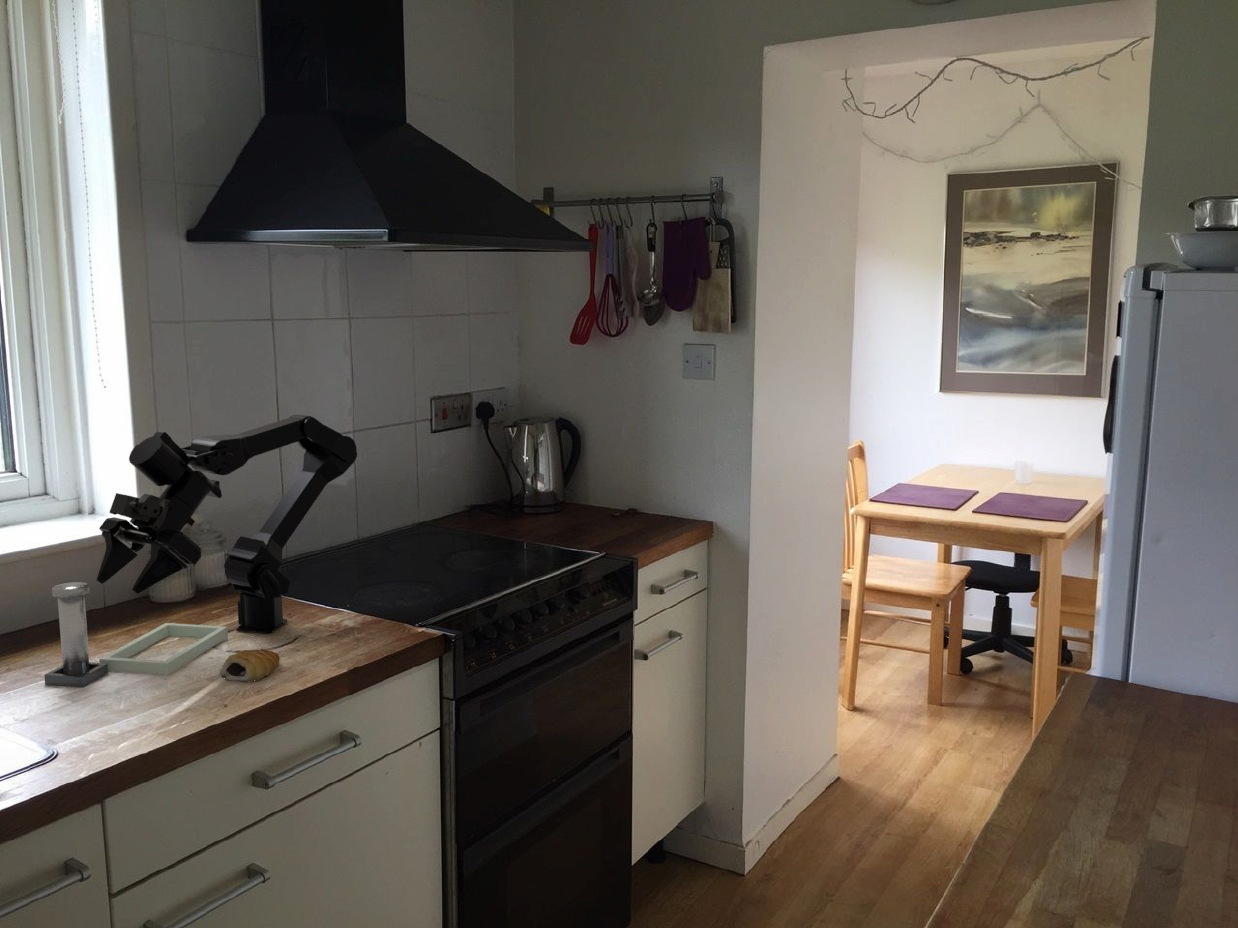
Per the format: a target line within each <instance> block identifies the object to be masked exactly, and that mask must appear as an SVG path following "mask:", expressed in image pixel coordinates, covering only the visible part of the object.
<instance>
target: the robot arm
mask: <svg viewBox="0 0 1238 928" xmlns="http://www.w3.org/2000/svg"><path fill="white" fill-rule="evenodd" d="M294 443H297V444H298V445H299V447H300V448H301V449H303V450H304V454H303V462H302V463H303V465H302V470H301V471H300V473H299V474H298V476H297V477H296V479H295V480H294V481H293V483H292V484H291V486H290V487H289V489H288V490H287V492H286V493H285V494H284V496H283V497H282V498H281V500H280V501H279V503H278V504H277V506H276V507H275V508H274V510H273V512H272V513H271V514H270V515H269V517H268V518H267V520H266V521H265V523H264V524H263V525H262V527H261V528H260V529H259V531H258V532H257V533H256V534H254V535H253V536H252V537H249V536H244V535H241V536H239V538H238V539H237V540H236V541H235V544H234V545H233V547H232V548H231V549H230V550H229V551H228V552H226V553H225V555H226V556H227V558H226V559H225V562H224V565H223V568H224V575H225V577H226V580H227V581H228V582H230V584H231V587H232V589H233V591H234V592H239V600H238V601H237V616H238V617H237V621H238V625H239V626H237V627H235V629H236V631H237V632H246V633H247V632H248V633H263V634H264V633H265V634H271V633H274V632H275V631H277V630H278V629H280V628H281V627H283V626H284V625H285V624H287V623H288V619H286V618H284V613H283V612H284V609H283V595H286V594H288V592H289V588H290V584H291V581H290V580H289V579H288V578H287V577H286V576H284V575H283V573H282V572H280V569H281V567H282V564H283V552H284V551H283V549H284V548H285V546H286V544H287V543H288V542H289V540H290V539H291V537H292V536H293V534H294V532H296V530H297V529H298V527H299V526H300V524H301V523H302V522H303V520H304V518H305V517H306V515H307V514H308V512H309V511H310V509H311V508H312V506H313V505H314V503H315V502H316V500H318V498H319V496H320V495H321V494H322V492H323V491H324V489H325V488H326V486H327V485H328V484H329V483H331V482H332V481H334V480H336V479H337V478H340V477H341V476H343V475H344V474H345V473H346V472H347V471H348V470H349V469H350V468H351V467H352V465H353V464H354V463H355V462H356V459H357V458H358V450H357V444H356V442H355V439H353V437H350V436H348V435H343V434H342V433H340V432H338V431H337V430H334V429H332V428H331V427H329V426H327V425H325V424H323V423H322V422H321V421H320V420H318V419H317V418H315V417H314V416H311V415H305V414H292V415H291V416H289V417H288V418H284V419H281V420H277V421H275V422H272V423H269V424H265V425H262V426H258V427H256V428H253V429H249V430H246V431H243V432H240V433H236V434H235V433H234V434H218V435H217V434H215V435H206V436H199V437H197V438H195V439H193V440H192V441H191V442H190V445H186V446H182V447H180V446H179V445H178V444H177V443H176V442H175V441H174V440H173V439H172V437H171V436H170V435H169V434H168V433H167V432H166V431H159V430H157V431H155V433H154V434H153V436H149V437H147V438H146V439H144V440H142V441H141V442H140V443H139V444H136V445H134V447H133V448H132V450H131V451H130V454H129V457H128V461H129V463H130V464H131V465H132V466H133V467H135V469H136V470H138V472H140V473H141V474H142V475H143V476H145V477H146V478H147V479H148V480H149V481H150V482H151V483H153V485H155V486H157V487H164V486H166V488H165V489H164V490H163V492H162V493H161V494H160V495H159V496H156V495H153V494H149V493H143V494H142V495H141V496H140V497H136V496H132V495H129V494H122V493H118V492H117V493H115V495H114V498H113V501H112V504H111V507H110V510H109V514H112V515H114V516H115V515H119V516H122V517H125V518H129V519H130V520H129V521H128V520H127V519H123V518H119V517H108V518H106V519H105V520H104V521H103V523H102V524H101V525H100V527H99V528H98V529H99V531H101V536H102V537H103V538H104V541H105V552H104V555H103V558H102V562H101V564H100V567H99V570H98V574H97V575H96V582H98V583H99V584H105V583H106V582H107V581H108V580H110V579H111V578H112V577H114V576H115V575H116V574H117V573H118V572H119V571H120V570H123V568H124V567H126V566H127V565H128V564H130V563H131V562H132V561H133V560H134V559H135V558H136V557H138V553H137V552H139V551H141V550H142V549H143V548H144V546H147V547H150V557H149V560H148V561H147V563H146V565H145V566H144V567H143V569H142V570H141V572H140V574H139V575H138V577H137V579H136V581H135V582H134V584H133V586H132V588H131V590H132V591H133V593H135V594H140V593H141V592H143V591H145V590H147V589H148V588H150V587H152V586H154V585H156V584H157V583H159V582H161V581H162V580H164V579H166V578H168V577H170V576H172V575H174V574H176V573H178V572H179V571H182V570H186V569H188V566H191V567H196V565H197V564H198V563H199V561H200V560H201V558H202V548H201V547H200V546H199V544H197V543H196V542H194V541H193V540H192V539H191V538H190V537H189V536H187V534H185V533H184V532H182V531H183V529H184V528H185V527H192V526H194V525H195V523H196V520H195V519H193V518H192V517H193V516H194V514H195V513H196V512H197V511H198V509H199V508H200V506H201V505H202V503H203V502H204V501H205V499H207V497H211V498H217V499H221V498H222V497H223V494H222V489H221V487H220V484H221V483H220V481H219V480H215V479H210V478H209V477H207V476H206V475H205V473H206V474H213V475H218V476H226V475H230V474H232V473H233V472H235V471H236V470H238V469H241V468H242V467H244V466H245V465H246V464H247V462H249V460H251V459H252V458H254V457H257V456H259V455H263V454H266V453H267V452H270V451H275V450H278V449H280V448H282V447H283V448H284V447H285V446H288V445H291V444H294ZM190 466H191V467H192V468H193V469H194V470H193V469H192V468H191V467H190Z"/></svg>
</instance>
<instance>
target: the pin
mask: <svg viewBox="0 0 1238 928" xmlns="http://www.w3.org/2000/svg"><path fill="white" fill-rule="evenodd" d="M87 594H90V585H89V583H87V582H83V581H82V582H80V581H79V582H77V581H75V582H73V581H72V582H65V583H61V584H57V585H54V586H52V588H51V595H52V597H54V598H57V607H58V621H59V633H60V645H61V646H60V647H61V648H60V649H61V660H62V662H61V663H62V665H63V674H68V675H83V674H84V673H86V672H88V671H90V665H89V662H90V653H89V640H88V638H89V637H88V625H87V612H86V611H87V610H86V598H85V595H87Z"/></svg>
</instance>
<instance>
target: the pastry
mask: <svg viewBox="0 0 1238 928" xmlns="http://www.w3.org/2000/svg"><path fill="white" fill-rule="evenodd" d="M280 659H281V658H280V656H279V653H277V652H274V651H272V650H269V649H266V648H261V649H257V648H256V649H248V650H247V649H245V650H240V651H238V652H236V653H234V654H231V655H229V656H228V657H227V659H225V662H223V665H222V667H221V669H220V670H219V675H221V677H222V679H223V678H225V679H224V680H226V679H227V680H226V681H230V680H234V681H233V682H243V681H246V682H245V683H247V682H248V681H250V682H255V681H254V680H257V681H259V680H262V679H263V678H264V677H265V676H267V677H268V676H270V675H271V674H272V673H274V672H275V671H276V670H277V669H278V667H279V665H280ZM276 668H277V669H276ZM275 669H276V670H275ZM269 674H270V675H269ZM261 678H262V679H261ZM258 679H259V680H258ZM236 680H237V681H236Z"/></svg>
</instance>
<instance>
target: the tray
mask: <svg viewBox="0 0 1238 928" xmlns="http://www.w3.org/2000/svg"><path fill="white" fill-rule="evenodd" d="M228 628H229V627H228V626H221V625H219V626H218V625H204V624H189V623H172V622H165V623H163V624H161V625H159V626H158V627H155V628H154V629H151V630H150V631H148V632H146V633H145V634H143V635H141V636H139V637H137V638H135V639H133V640H131V641H130V642H129V643H126V644H124V645H122V646H121V647H119V648H117V649H115V650H114V651H111V652H110V653H108V654H106V655H104V656H102V657H100V658H99V660H98V661H99V663H108V672H122V673H123V672H124V673H136V674H137V673H138V674H150V675H151V674H152V675H165V676H168V675H170V674H171V673H174V672H175V671H176V670H178V669H179V668H182V666H184V665H186V664H188V663H189V662H191V661H192V660H194V659H195V658H197V657H198V656H200V655H202V654H203V653H205V652H207V651H208V650H209V649H211V648H213V647H214V646H216V645H217V644H219V643H221V642H228V641H229V632H228V631H229V630H228ZM165 638H171V639H172V638H173V639H189V640H197V641H196V642H193V643H192V644H191V645H188V646H187V647H186V648H184V649H182V650H180V651H179V652H177V653H175V654H174V655H172V656H171V657H169V658H167V659H165V660H158V659H140V658H131V657H133V656H134V655H137V654H138V653H140V652H141V651H143V650H145V649H147V648H148V647H149V648H150V647H151V646H152V645H154V644H155V643H157V642H159V641H161V640H163V639H165Z"/></svg>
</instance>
